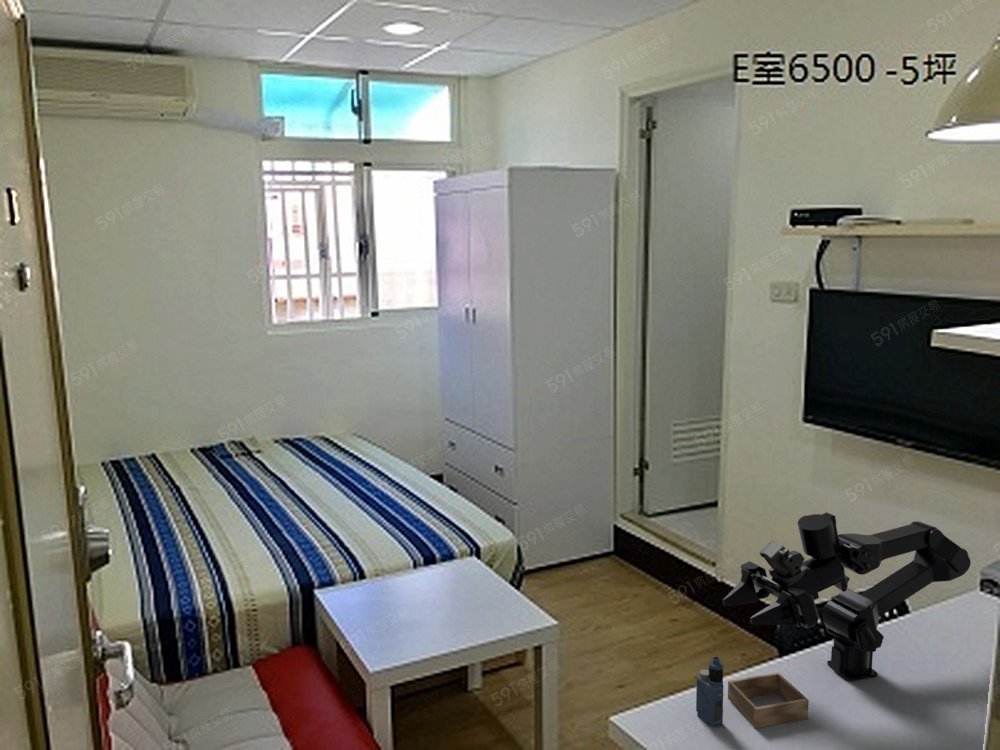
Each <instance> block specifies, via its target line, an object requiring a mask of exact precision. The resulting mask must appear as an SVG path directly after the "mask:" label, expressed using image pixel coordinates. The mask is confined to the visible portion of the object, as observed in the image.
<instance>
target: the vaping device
mask: <svg viewBox="0 0 1000 750" xmlns="http://www.w3.org/2000/svg"><path fill="white" fill-rule="evenodd" d="M698 673H699V674H698V675H697V678H696V682H695V683H696V686H695V687H696V688H695V689H696V692H695V693H696V694H695V695H696V699H695V700H696V701H695V706H696V707H695V710H696V712H697V716H698V718H699V719H701V720H702V721H704V722H705V723H706V724H707V725H709V726H711V727H712V728H717V727H720V726H721V725H722V723H724V722H723V719H724V717H723V716H724V686H725V685H724V663H723V661H721V660H720V657H719V656H713V657H712V659H710V660H709V661H708V669H705V668H704V669H703V668H702V669H700V670H699V671H698ZM719 725H720V726H719Z"/></svg>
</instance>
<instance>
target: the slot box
mask: <svg viewBox="0 0 1000 750" xmlns="http://www.w3.org/2000/svg"><path fill="white" fill-rule="evenodd" d="M775 693H777V694H778V695H779V696H780V697H781V698H782V699H784V700H785V702H784V701H783V702H778V703H774V704H768V705H762V706H756V705H755V704H754V703H753V702H752V701H751V700H750V699H749V698H752V697H757V696H762V695H768V694H775ZM728 699H729V700H730V701H731V702H732V703H731V702H730V701H729V700H728ZM727 700H728V701H729V702H730V703H731V704H732V705H733V707H734V708H735V709H736V710H737V711H738V712H739V713H740V714H741V715H742V716H743V717H744V718H745V719H746V720H747V722H749V724H750V725H751V726H752V727H753V728H754V729H761V728H766V727H771V726H776V725H782V724H787V723H792V722H797V721H802V720H803V721H804V720H808V719H809V700H810V699H808V698H807V697H806V696H805V695H804V694H802V693H801V692H800V690H798V689H797V688H796V687H795V686H794V685H793V684H792V683H791V682H789V681H788V680H787V679H786V678H785V677H784V676H783V675H782V674H781V673H779V672H774V673H766V674H762V675H756V676H750V677H744V678H739V679H738V678H737V679H732V680H728V681H727Z"/></svg>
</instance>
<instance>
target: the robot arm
mask: <svg viewBox="0 0 1000 750" xmlns="http://www.w3.org/2000/svg"><path fill="white" fill-rule="evenodd" d="M797 526H798V531H799V535H800V536H799V537H800V540H801V545H802V550H803V552H804V554H805V555H806V556H809V557H811V558H808V559H807V560H806V558H805V557H804V556H803V555H802V553H801V552H799V551H797V550H791V551H790V550H789V549H788V548H786V547H785V546H784V545H782V544H780V543H778V542H775V541H773V540H771V541H769V542H768V543H767V545H766V546H765V547H763V548H762V550H760V551H759V555H760V556H761V558H763V559H764V560H765V561H766V562H767V564H768V565H769V566H770V567H771V568H769V569H768V572H769V575H770V576H771V578H769V577H768V574H767V571H766V568H764V567H762V566H760V565H758V564H756V563H754V562H752V561H750V560H749V561H747V562H745V563H743V564H741V565H740V574H741V578H740V580H739V582H738V583H737V584H736V585H735V587H734V588H732V590H731V591H730V592H729V593H728V594H727V595H726V596H725V597H724V598H723V599H722V604H723V606H736V605H744V604H752V603H759V602H760V600H763V599H766V598H768V597H770V595H772V596H774V597H775V598H776V601H775V602H773V603H771V604H770V605H768V606H766V607H765V608H763V609H761V610H760V611H758V612H756V613H755V614H753V615H751V617H750V618H749V621H750V623H751V624H752V625H769V626H770V625H771V626H773V625H775V626H792V627H797V628H801V627H803V628H805V629H810V628H812V627H814V626H816V625H817V624H818V621H819V619H820V616H819V613H818V612H819V611H818V609H817V605H816V601H815V600H818V599H819V598H820V596H819V593H820V592H822V591H825V590H826V589H829V588H831V587H832V586H834V587H836V589H838V590H840V592H839V593H838V594H836V595H833V596H831V597H830V600H829V601H828V602H827V603H826V604H825V605H824V607H823V609H822V611H821V614H822V623H823V625H824V626H825V629H826V632H827V633H828V634H831V635H833V636H834V637H833V646H831V653H830V656H831V658H830V660H828V661H827V663H826V664H827V665H828V666H829V667H830V668H831V669H833V670H834V671H835V672H836V673H838V674H839V675H840V676H841V677H843V679H845V680H846V681H852V682H853V681H858V680H862V679H868V678H873V677H878V675H879V673H878V672H877V671H876V670H875V669H873V657H874V655H873V654H874V652H877V649H879V648H881V646H882V644H883V641H884V635H883V634H882V633H881V632H880V631H879V630H878V624H879V621H880V617H881V616H883V615H884V614H886V613H888V612H889V611H891V610H892V609H893V608H895V607H897V606H898V605H900V604H901V603H903V602H904V601H906V600H907V599H909V598H910V597H912V596H913V595H916V594H917V593H918V592H920V591H922V589H924V588H926V587H927V586H929V585H930V584H932V583H938V582H939V583H940V582H942V583H943V582H951V581H953V580H955V579H958V578H960V577H962V576H963V575H965V574H966V573H967V572H968V571H969V569H970V567H971V558H970V557H969V553H968V551H967V549H966V548H963V547H961V546H960V545H958V544H957V543H955V541H953V540H951V539H949V537H947V536H946V535H944V533H943V532H942V531H941V530H939V528H937V527H936V526H933V525H930V524H928V523H925V522H922V521H912V522H910V523H909V524H906V525H903V526H900V527H899V526H898V527H895V528H892V529H888V530H884V531H880V532H876V533H873V534H860V533H852V532H851V533H840V534H839V533H838V529H837V519H836V515H834V514H831V513H828V512H825V513H822V514H819V513H818V514H817V513H815V514H808V515H803V516H801V517H800V518H798V521H797ZM912 552H915V553H914V556H913V560H912V561H911V562H909V563H908V564H906V565H904V566H902V567H901V568H900V569H898V570H896V571H894V572H893V573H892V574H890V575H888V576H887V577H885V578H884V579H882V580H881V581H879V582H877V583H876V584H874V585H873V586H871V587H869V588H867V590H865V591H863V592H861V593H858V592H856V591H854V590H852V589H850V588H848V587H849V586H848V585H849V581H850V576H847V575H846V570H848V571H851V572H853V573H855V574H857V575H859V576H860V575H861V576H862V575H867V574H868V573H870V572H872V571H874V570H876V569H878V568H879V567H880V565H881V564H882V561H884V560H887V559H889V558H894V557H897V556H901V555H905V554H908V553H912ZM845 569H846V570H845Z"/></svg>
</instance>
